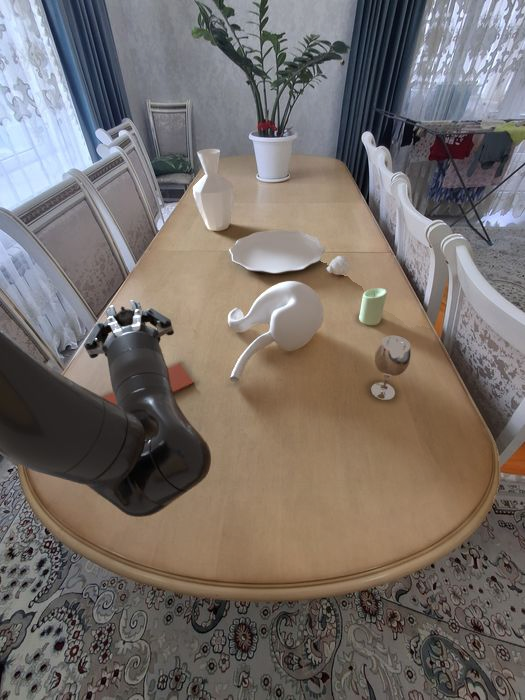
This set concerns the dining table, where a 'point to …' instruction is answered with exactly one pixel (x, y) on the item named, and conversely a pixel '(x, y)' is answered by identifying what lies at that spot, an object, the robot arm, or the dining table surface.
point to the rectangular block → (177, 381)
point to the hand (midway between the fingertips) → (123, 307)
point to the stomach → (279, 319)
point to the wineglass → (390, 363)
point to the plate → (277, 251)
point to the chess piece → (125, 317)
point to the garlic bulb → (339, 265)
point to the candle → (372, 306)
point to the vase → (214, 193)
